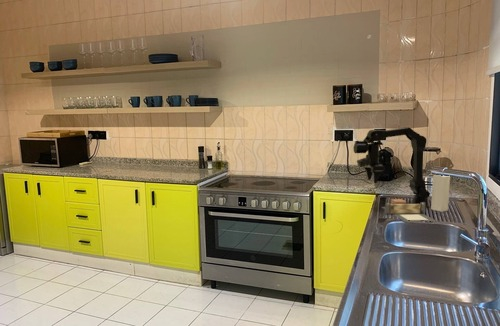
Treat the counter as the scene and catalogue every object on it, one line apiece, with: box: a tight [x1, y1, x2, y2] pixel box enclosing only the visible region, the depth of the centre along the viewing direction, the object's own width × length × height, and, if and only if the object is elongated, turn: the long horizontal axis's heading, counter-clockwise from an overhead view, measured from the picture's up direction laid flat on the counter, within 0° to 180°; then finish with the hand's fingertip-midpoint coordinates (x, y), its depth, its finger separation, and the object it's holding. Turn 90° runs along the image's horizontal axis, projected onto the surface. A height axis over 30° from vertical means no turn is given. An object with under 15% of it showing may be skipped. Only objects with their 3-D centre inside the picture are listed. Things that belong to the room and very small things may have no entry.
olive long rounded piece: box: [384, 202, 426, 216], centre depth 205 cm, size 21×2×6 cm, turn 93°
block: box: [390, 198, 407, 204], centre depth 216 cm, size 6×6×4 cm
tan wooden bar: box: [389, 203, 421, 215], centre depth 205 cm, size 15×2×4 cm, turn 93°
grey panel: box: [381, 206, 438, 224], centre depth 205 cm, size 16×30×1 cm, turn 3°
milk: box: [430, 174, 451, 213], centre depth 212 cm, size 6×6×22 cm
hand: (372, 181), depth 218 cm, fingers open, 9 cm apart
